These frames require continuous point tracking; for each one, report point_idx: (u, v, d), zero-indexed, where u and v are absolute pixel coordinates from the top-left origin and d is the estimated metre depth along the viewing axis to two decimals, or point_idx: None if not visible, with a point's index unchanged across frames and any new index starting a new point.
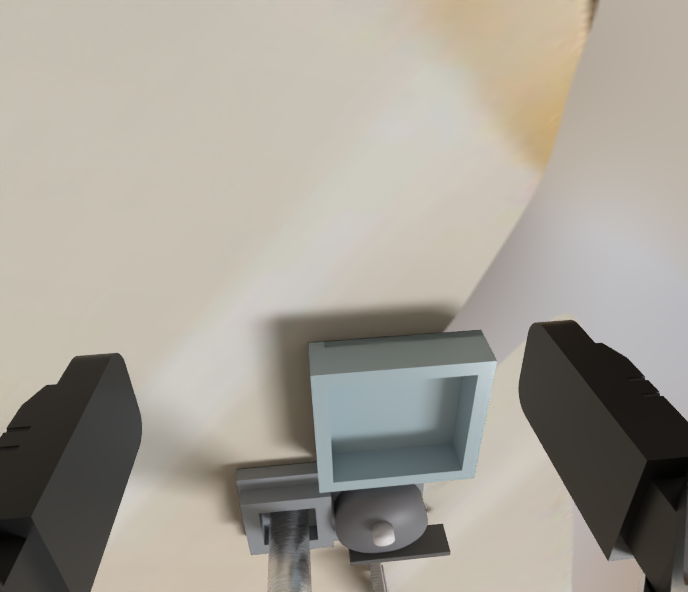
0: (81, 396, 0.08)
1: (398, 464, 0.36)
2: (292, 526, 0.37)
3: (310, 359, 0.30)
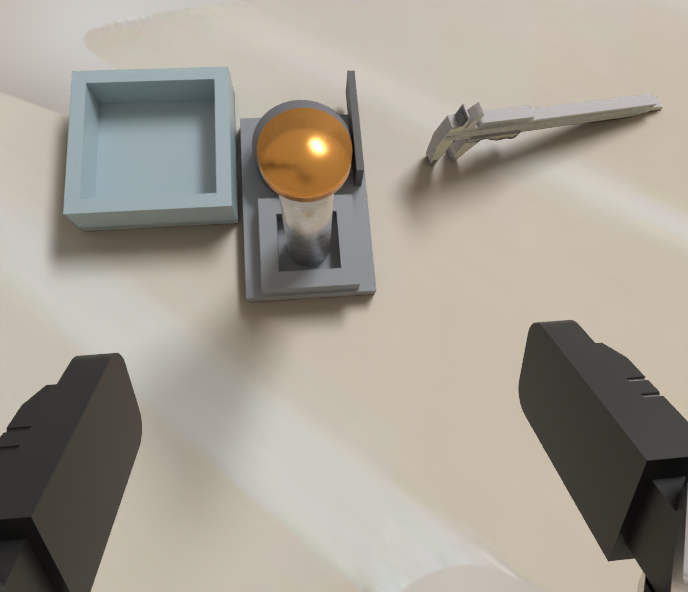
0: (81, 396, 0.08)
1: None
2: None
3: (72, 221, 0.35)
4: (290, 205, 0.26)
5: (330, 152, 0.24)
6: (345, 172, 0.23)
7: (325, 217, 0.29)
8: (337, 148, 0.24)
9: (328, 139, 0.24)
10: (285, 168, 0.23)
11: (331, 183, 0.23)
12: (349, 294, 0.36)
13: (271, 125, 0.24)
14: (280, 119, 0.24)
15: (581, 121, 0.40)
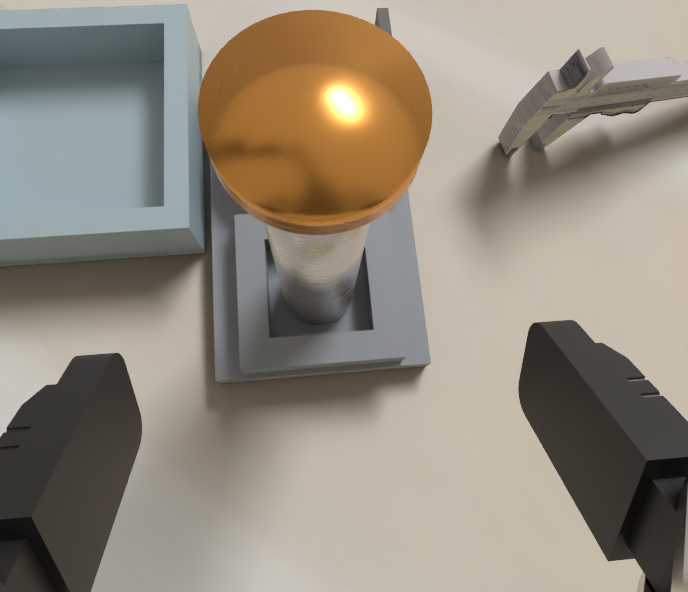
0: (81, 396, 0.08)
1: None
2: None
3: None
4: (284, 237, 0.13)
5: (379, 113, 0.10)
6: (417, 161, 0.09)
7: (354, 255, 0.15)
8: (396, 102, 0.10)
9: (373, 83, 0.10)
10: (268, 153, 0.09)
11: (384, 189, 0.09)
12: (385, 368, 0.22)
13: (235, 50, 0.10)
14: (256, 37, 0.10)
15: None
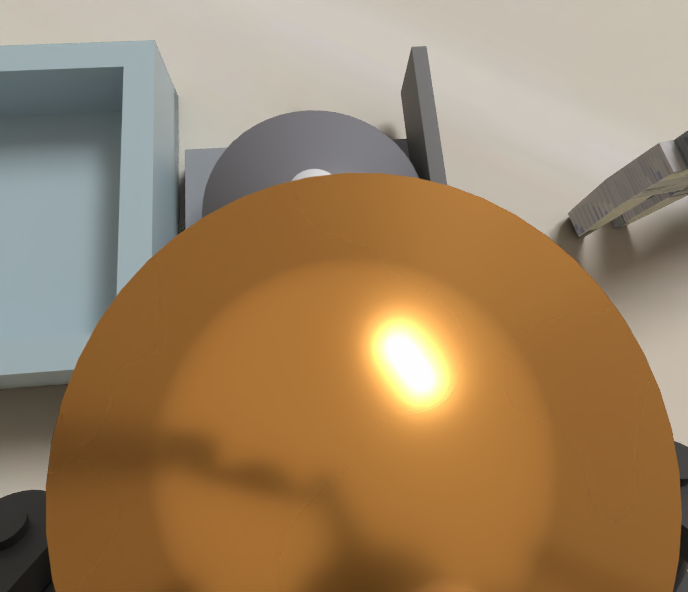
0: None
1: None
2: None
3: None
4: None
5: (540, 476, 0.04)
6: None
7: None
8: (583, 437, 0.04)
9: (519, 380, 0.04)
10: None
11: None
12: None
13: (160, 290, 0.04)
14: (216, 251, 0.04)
15: None
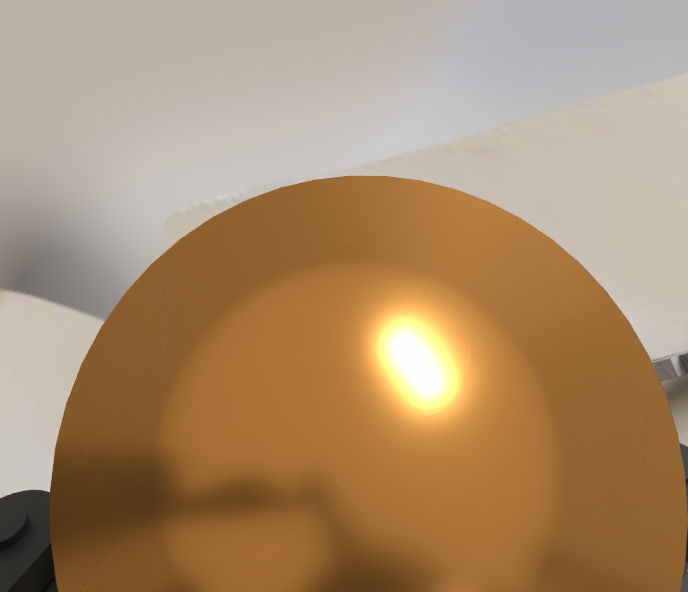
0: None
1: None
2: None
3: None
4: None
5: (545, 480, 0.04)
6: None
7: None
8: (589, 442, 0.04)
9: (523, 384, 0.04)
10: None
11: None
12: None
13: (163, 293, 0.04)
14: (220, 254, 0.04)
15: None
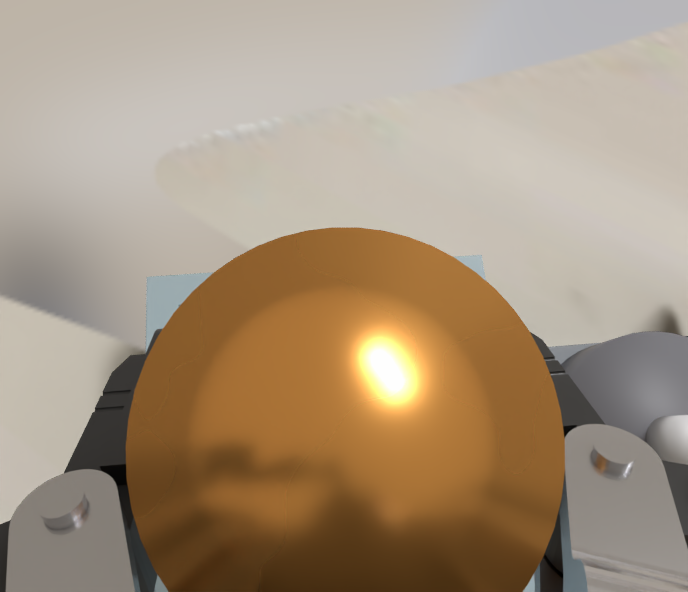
0: None
1: None
2: None
3: None
4: None
5: (466, 442, 0.05)
6: (543, 545, 0.05)
7: None
8: (498, 417, 0.05)
9: (453, 375, 0.05)
10: (260, 541, 0.05)
11: None
12: None
13: (200, 312, 0.05)
14: (240, 284, 0.06)
15: None
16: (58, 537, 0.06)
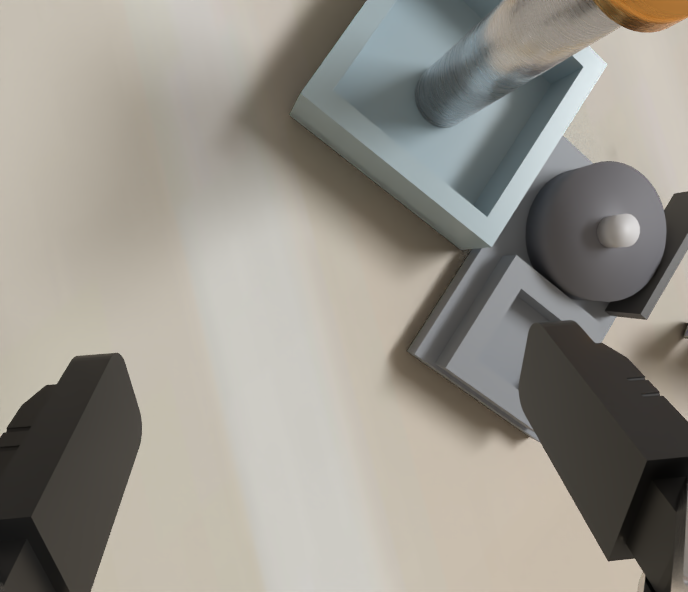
0: (81, 396, 0.08)
1: (526, 142, 0.25)
2: None
3: None
4: (539, 5, 0.16)
5: None
6: None
7: (542, 68, 0.18)
8: None
9: None
10: None
11: (668, 9, 0.13)
12: (510, 422, 0.28)
13: None
14: None
15: None
16: None
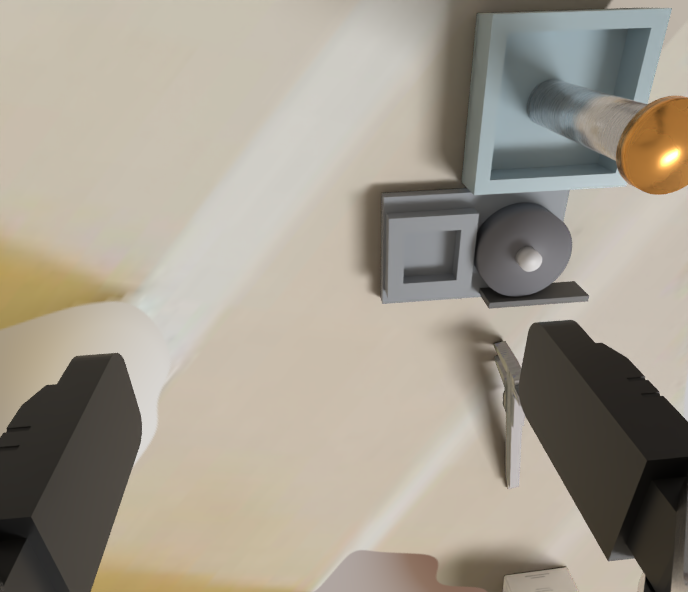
0: (81, 396, 0.08)
1: (549, 172, 0.36)
2: None
3: (486, 13, 0.31)
4: (612, 116, 0.26)
5: (662, 173, 0.24)
6: (637, 187, 0.25)
7: (586, 144, 0.29)
8: (664, 181, 0.25)
9: (675, 172, 0.24)
10: (660, 129, 0.23)
11: (631, 174, 0.24)
12: (381, 280, 0.41)
13: None
14: None
15: (506, 446, 0.51)
16: None
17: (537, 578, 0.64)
